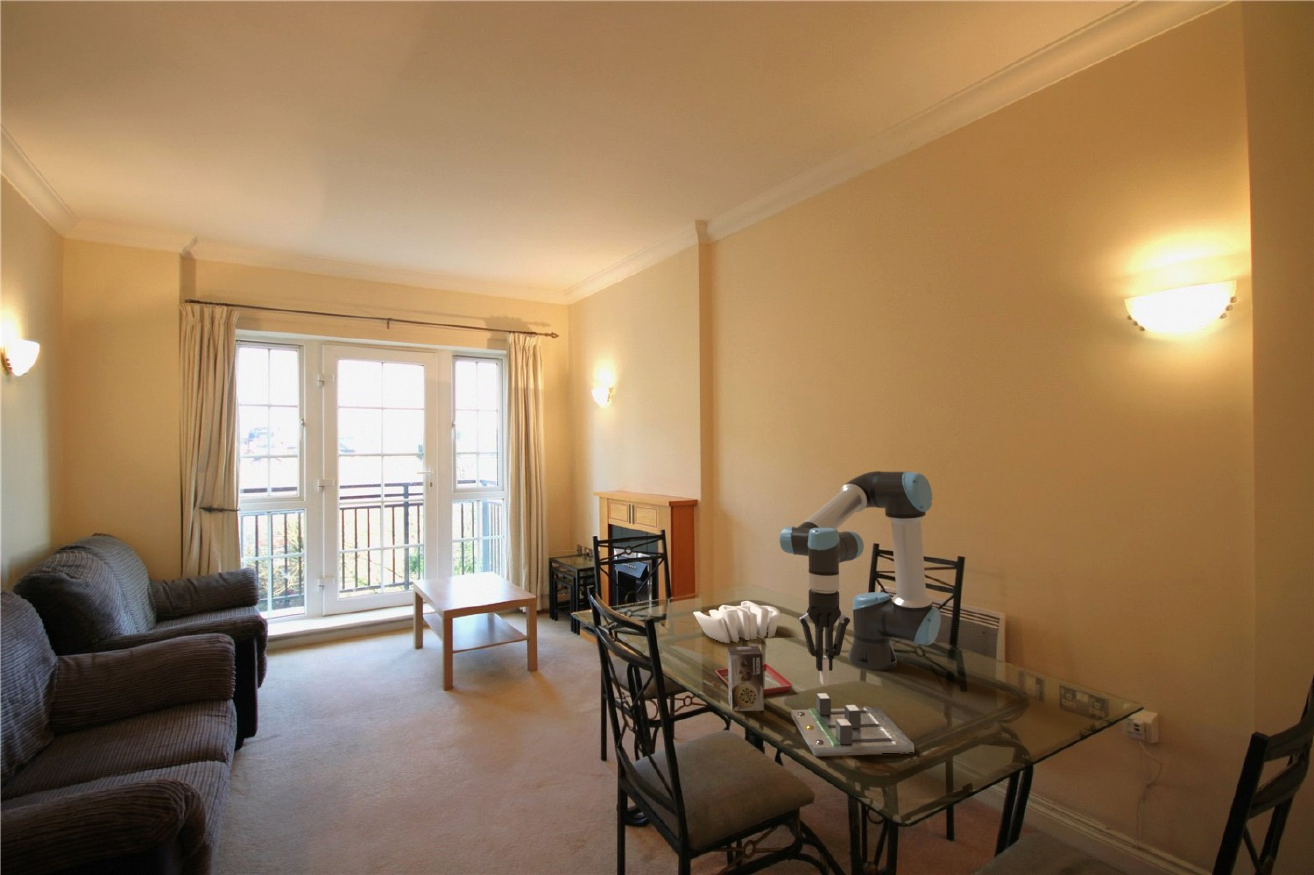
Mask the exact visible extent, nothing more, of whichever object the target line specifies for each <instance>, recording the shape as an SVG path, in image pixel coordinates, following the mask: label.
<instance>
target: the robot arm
mask: <svg viewBox="0 0 1314 875" xmlns="http://www.w3.org/2000/svg"><path fill="white" fill-rule="evenodd" d="M932 505H933V492H932V486H931V484H930V482H929V480H928V479H927V477H926V476H925V475H924V474H922V473H920V472H912V471H911V472H910V471H882V470H881V471H880V470H879V471H878V470H877V471H870V472H869V471H868V472H866V473H863V474H860V475H858V476H855V477H854V478H852V479H851V480H849V481H847V482H846V483H845V484H843V485H842V486H841V487H840V488H839V490H838V493H837V494H836V495H835V496H834V497H833V498H831V499H830V500H829V501H827V502H826V503H825V504H824V505H823V506H822V507H820V508H819V509H817V511H815V512H814V513H813V514H812V515H811V516H809V517H808V518H807V519H806V520H804V521H803V522H802V523H801V524H800V525H798V526H797V527H796V526H786V527H784V528H783V529H782V530H781V532H780V534H779V539H778V540H779V545H780V548H781V550H782V551H783V552H784V553H787V554H792V555H794V556H804V557H808V587H809V588H808V589H809V590H808V607H807V610H806V613H805V614H803V615H802V616H801V615H800V616H798V617H797V620H798V622H800V625H801V626H802V631H803V634H804V638H805V642H806V646H807V650H808V653H809V654H810V655H811V657H815V663H816V664H815V667H816V670H817V672H819V682H820V683H821V685H822V686H830V671H831V672H832V671H833V668H834V666H833V664H834V663H833V660H834V659H835V657H837V656H838V657H839V656H840V655H841V652H842V647H843V643H844V639H845V634H846V630H847V627H848V625H849V624H850V622H851V619H850V618H849V617H848V616H847V615H844V614H842V611H841V609H840V592H839V589H840V563H845V562H851V561H853V560H855V559H857V558H859V557H860V556H861V555H863V552H864V550H865V549H864V548H865V544H864V541H863V539H862V537H861V536H860V534H858V533H857V532H855V531H849V530H844V531H838V530H837V529H838V528H839V527H840V526H842V525H843V524H844V523H845V522H846V521H847V520H848V519H849V518H851V517H852V516H853V515H854V514H855V513H860V512H862V511H864V510H865V509H868V508H877V509H884V513H885V517H886V518H888V520H889V521H890V524H891V525H890V526H891V536H892V537H891V538H892V552H893V562H894V564H893V566H894V577H895V578H894V579H895V588H896V590H895V591H896V593H895V595H893V597H892V598H891V595H890V594H889V593H887V592H872V591H871V592H864V593H860V594H856V596H854V597H853V602H852V603H853V605H852V622H853V623H852V625H853V640H852V643H851V646H850V648H849V651H848V656H847V658H848V661H849V663H851V664H852V665H853V666H856V667H858V668H861V669H865V670H870V671H890V670H893V669H895V668H896V667H897V666H898V665H897V664H898V663H897V662H898V661H897V657H896V653H895V651H894V648H893V646H892V645H893V644H892V641H891V640H892V639H897V640H900V641H904V642H908V643H912V644H916V645H918V644H919V645H923V646H929V645H931V644H933V643H934V642H935V640H936V639H937V637H938V635H939V631H940V628H941V623H942V622H941V618H942V616H941V612H940V610H939V608H936V607H933V600H932V598H931V597H930V596H928V595H927V588H926V575H925V574H926V573H925V562H924V561H925V560H924V558H925V557H924V546H923V535H922V534H923V532H922V520H923V519H924V518H925V517H926V515H927V513H926V512H928V511H929V510H930V509H931V507H932ZM810 620H811V621H812V623H813V624H814V632H815V633H814V638H815V639H813V635H812V632H811V628H810V626H809V625H810ZM837 621H838V624H837V627H836V631H835V632H836V633H835V637H834V629H835V626H834V625H835V624H836V623H837ZM891 638H892V639H891ZM814 640H815V641H814ZM824 643H825V644H824ZM824 645H825V646H824ZM824 647H825V648H824ZM824 650H825V655H824Z"/></svg>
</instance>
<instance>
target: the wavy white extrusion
mask: <svg viewBox="0 0 1314 875" xmlns="http://www.w3.org/2000/svg"><path fill="white" fill-rule="evenodd" d="M708 613H709V615H710V616H709V615H706V614H704V613H702V612H701V611H700V610H699V611H694V612H692V614H693V615H694V617H695V619H696V620H697V621H698V622H697V623H699V626H700V627H701V628H702V630H703V632H704V634H705V635H706V636H707V637H708V636H709V637H708V638H710V637H711V638H713V639H715V640H714V641H716V640H718V641H717V642H719V641H720V642H719V643H723V642H724V644H731V642H732V641H734V642H736V643H739V642H740V638H739V637H740V636H741V637H742V638H744V639H745V640H750V639H751V640H750V641H753V640H752V639H757V638H758V636H760V637H764V636H766V637H768V636H774V637H775V635H776V633H777V632H776V631H777V628H778V623H779V620H780V617H781V614H782V613H781V612H780V610H779V609H778V608H777V607H775V606H770V605H758V604H757V603H755V602H752V601H750V600H745V601H744V600H743V601H741V602H740V605H736V606H735V605H734V606H732V605H727V604H726V605H725V604H722V605H720V607H718V610H717V609H710V610H708ZM768 630H769V631H768ZM767 631H768V633H767ZM757 635H758V636H757ZM711 638H710V639H711ZM742 638H741V639H742ZM713 639H712V640H713ZM744 639H743V640H744ZM731 640H732V641H731ZM745 640H744V641H745ZM730 641H731V642H730ZM738 641H739V642H738ZM734 642H733V643H734Z"/></svg>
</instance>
